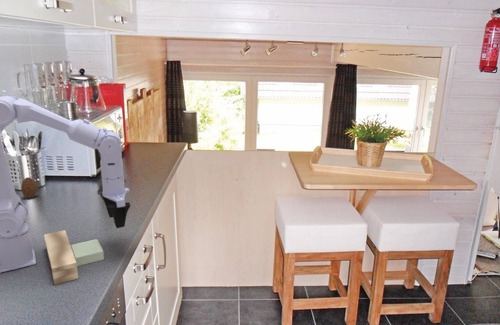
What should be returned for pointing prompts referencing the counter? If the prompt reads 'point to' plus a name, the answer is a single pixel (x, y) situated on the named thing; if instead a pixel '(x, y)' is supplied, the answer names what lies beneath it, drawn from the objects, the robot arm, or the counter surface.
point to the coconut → (29, 187)
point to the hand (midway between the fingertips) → (116, 221)
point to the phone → (102, 188)
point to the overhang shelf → (61, 257)
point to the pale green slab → (87, 252)
